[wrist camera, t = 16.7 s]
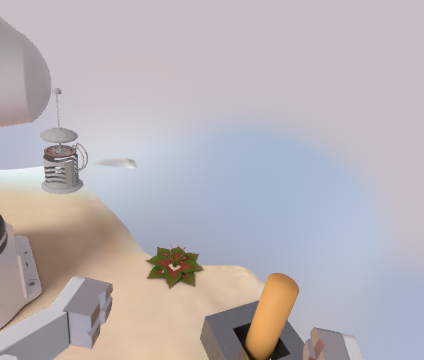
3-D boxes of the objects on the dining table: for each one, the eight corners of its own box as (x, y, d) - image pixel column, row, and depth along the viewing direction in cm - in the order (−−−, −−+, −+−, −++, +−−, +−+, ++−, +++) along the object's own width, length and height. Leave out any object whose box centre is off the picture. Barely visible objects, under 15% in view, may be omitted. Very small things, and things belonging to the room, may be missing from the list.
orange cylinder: (233, 359, 43) (260, 281, 36) (250, 344, 45) (278, 268, 38) (254, 382, 40) (287, 304, 33) (270, 364, 43) (304, 288, 36)
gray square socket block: (200, 338, 45) (205, 316, 43) (262, 317, 50) (270, 297, 48) (238, 425, 36) (247, 404, 33) (309, 388, 41) (321, 367, 39)
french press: (57, 172, 81) (50, 81, 70) (96, 182, 80) (95, 90, 69) (32, 188, 72) (19, 86, 61) (75, 199, 72) (71, 97, 60)
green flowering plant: (135, 286, 52) (137, 267, 50) (151, 243, 63) (153, 226, 61) (201, 297, 52) (205, 279, 50) (206, 252, 63) (209, 236, 61)
